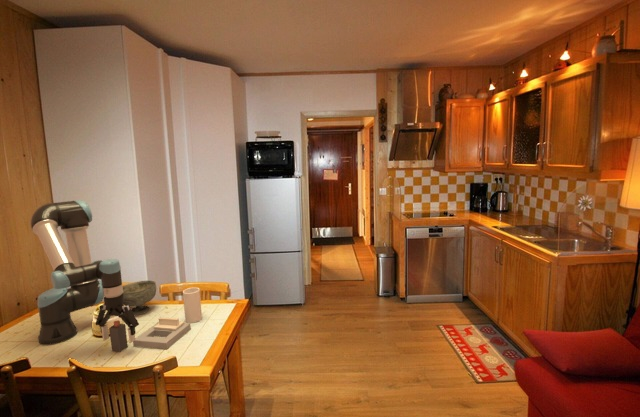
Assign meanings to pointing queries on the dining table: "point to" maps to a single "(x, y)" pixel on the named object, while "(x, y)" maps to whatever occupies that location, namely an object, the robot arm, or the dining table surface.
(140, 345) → the socket board
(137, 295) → the bowl
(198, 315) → the cup
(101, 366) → the dining table surface
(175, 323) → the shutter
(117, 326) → the dark grey bottle
